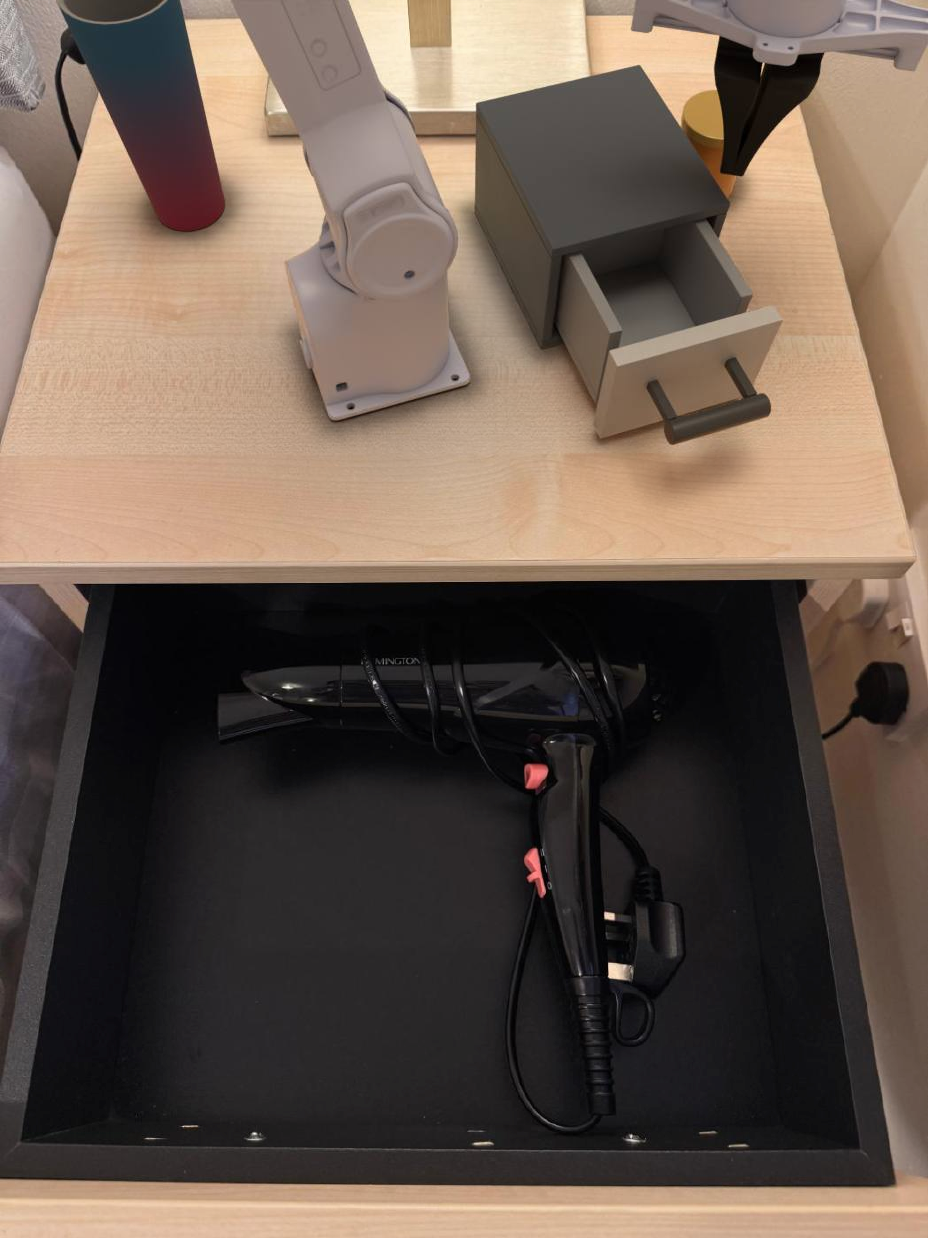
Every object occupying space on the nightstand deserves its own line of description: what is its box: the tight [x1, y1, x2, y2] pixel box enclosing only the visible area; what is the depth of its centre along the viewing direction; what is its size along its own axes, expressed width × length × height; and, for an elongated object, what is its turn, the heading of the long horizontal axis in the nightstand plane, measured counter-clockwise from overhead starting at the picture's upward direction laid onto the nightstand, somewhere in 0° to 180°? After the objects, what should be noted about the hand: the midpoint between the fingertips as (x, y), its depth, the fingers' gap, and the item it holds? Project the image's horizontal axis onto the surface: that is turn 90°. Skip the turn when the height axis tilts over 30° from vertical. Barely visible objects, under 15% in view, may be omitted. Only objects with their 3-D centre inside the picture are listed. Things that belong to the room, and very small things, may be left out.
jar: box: [680, 89, 738, 199], centre depth 62 cm, size 5×5×6 cm
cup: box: [56, 0, 226, 232], centre depth 57 cm, size 7×7×15 cm
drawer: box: [554, 218, 784, 446], centre depth 54 cm, size 17×10×7 cm, turn 19°
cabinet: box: [474, 64, 731, 350], centre depth 58 cm, size 13×11×8 cm
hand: (733, 163), depth 52 cm, fingers closed
